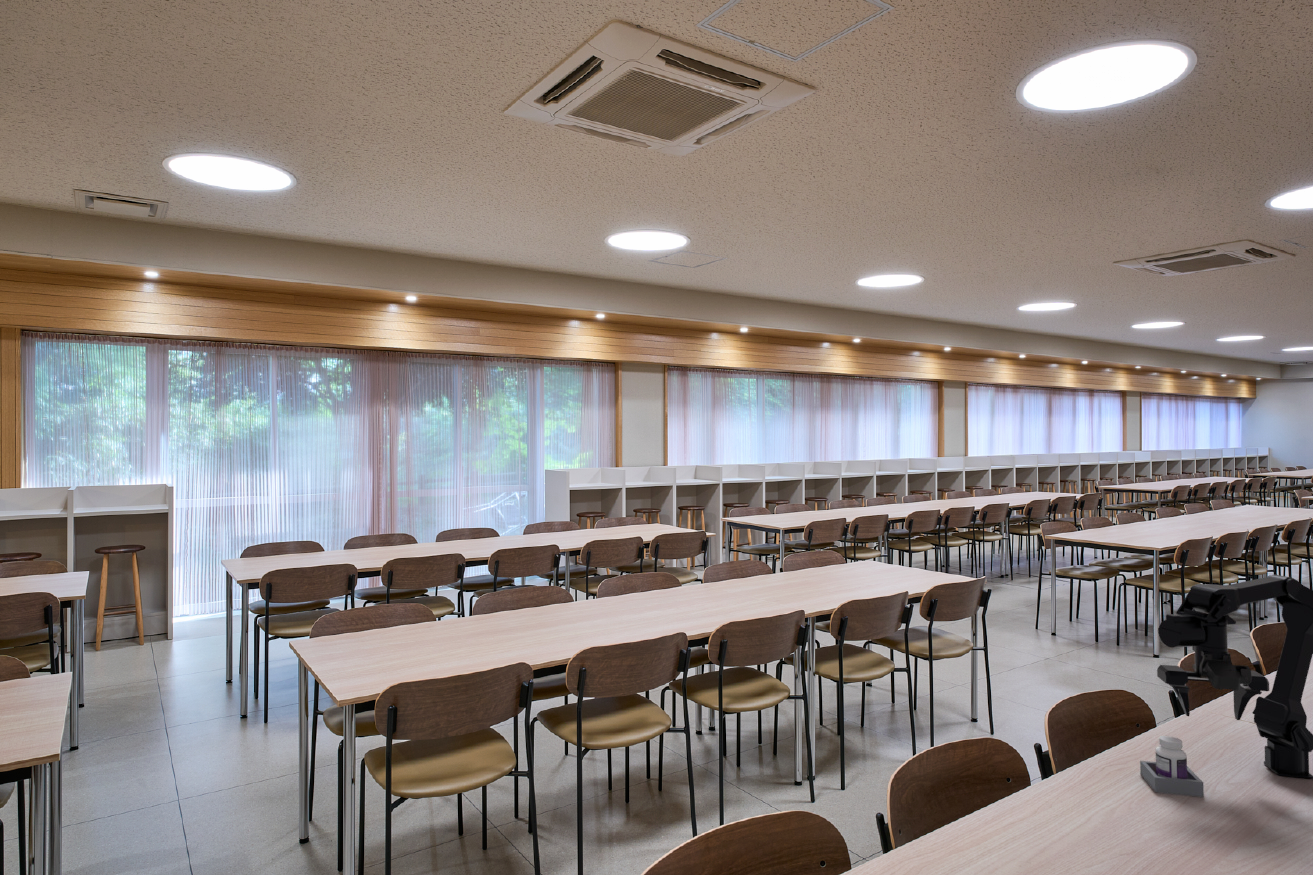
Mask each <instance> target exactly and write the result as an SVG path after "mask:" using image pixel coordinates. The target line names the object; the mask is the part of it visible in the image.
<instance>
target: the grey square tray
mask: <svg viewBox="0 0 1313 875" xmlns="http://www.w3.org/2000/svg"><path fill="white" fill-rule="evenodd" d="M1139 763H1140V765H1139V766H1140V771H1139V772H1140V776H1141V775H1142V776H1141V777H1142V778H1143V777H1144V778H1143V779H1144V781H1147V782H1146V783H1147V784H1148V785H1149V786H1150V788H1151V789H1152V790H1153V792H1154V793H1158V792H1159V793H1160V794H1169V795H1170V794H1171V795H1178V796H1189V797H1199V798H1205V796H1204V795H1205V794H1204V793H1205V792H1204V791H1205V790H1204V781H1203V780H1202V779H1201V778H1200V777H1199V776H1198V775H1197V774H1196V773H1195V772H1194V771H1192V769H1191V768H1189V766H1188V765H1187V779H1180V778H1170V777H1160V776H1157V775H1156V761H1150V760H1149V761H1148V760H1140V761H1139Z"/></svg>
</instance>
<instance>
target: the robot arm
mask: <svg viewBox="0 0 1313 875" xmlns="http://www.w3.org/2000/svg"><path fill="white" fill-rule="evenodd" d="M1272 599H1273V600H1274V601H1275V602H1276V603H1277V604H1278V605H1280V607H1282V608H1281V618H1282V620H1283V622H1284V625H1285V627H1286V633H1285V634H1286V635H1285V637H1284V642H1283V646H1282V649H1281V653H1280V657H1279V661H1278V666H1277V670H1276V673H1275V676H1274V681H1273V684H1272V689H1271V692H1270V693H1268V694H1267V695H1266V696H1265V697H1262V696H1258V697H1257V698H1256V700H1255V707H1254V709H1253V711H1252V713H1251V714H1253V722H1254V724H1255V726H1256V727H1257V731H1258V734H1259V736H1260V737H1261V738H1265V739H1266V743H1267V744H1266V745H1265V746H1264V761H1263V765H1265V767H1267V768H1269V769H1270V771H1272V772H1274V773H1275V774H1276V775H1277V776H1281V777H1293V778H1301V779H1303V778H1304V779H1313V774H1312V773H1310V758H1309V756H1310V754H1309V753H1312V751H1313V733H1312V732H1311V731H1310V730H1309V728H1307V721H1308V717H1307V714H1306V711H1305V709H1304V707H1303V703H1302V698H1303V693H1304V690H1305V686H1306V681H1307V677H1308V676H1309V675H1308V674H1309V671H1310V666H1311V662H1312V658H1313V589H1311V588H1309V587H1308V586H1305V585H1303V584H1302V583H1301V582H1300V581H1298V580H1297V579H1295V578H1294V577H1291V576H1286V575H1281V574H1270V575H1268V576H1265V577H1262V578H1261V577H1260V578H1256V579H1251V580H1247V581H1245V580H1244V581H1242V582H1237V583H1236V582H1235V583H1231V584H1208V583H1207V584H1206V583H1205V584H1204V583H1202V584H1201V583H1200V584H1199V583H1197V584H1194V585H1192V586H1191V587H1190V590H1189V591H1188V593H1187V595H1186V596H1185V597H1184V599H1183V601H1182V602H1181V604H1180V605H1179V607H1178V608H1177V610H1176V614H1174V613H1173V614H1172V613H1171V614H1170V613H1169V614H1168V613H1167V614H1166V615H1165V620H1163V621H1162V622H1161V623H1160V624H1159V626H1158V629H1157V632H1158V637H1159V639H1160V640H1161V642H1162V643H1163V644H1164V645H1165V646H1167V647H1168V648H1172V649H1173V648H1185V647H1186V648H1187V647H1189V648H1190V647H1191V649H1192V651H1193V652H1194V663H1192V669H1193V670H1194V671H1190V670H1184V669H1183V668H1182V667H1180V666H1179V665H1172V664H1171V665H1169V664H1160V665H1159V666H1158V667H1157V670H1156V674H1157V678H1159V679H1160V680H1161V681H1163V683H1165V684H1166V685H1169V686H1170V687H1171V688H1172V689H1173V691H1174V693H1175V695H1176V696H1177V699H1178V701H1179V703H1180V706H1181V708H1182V710H1183V712H1184V715H1185V716H1186V717H1190V713H1191V710H1190V700H1189V692H1190V687H1189V686H1188V685H1187V684H1188V683H1189V681H1195V682H1206V683H1207V682H1209V683H1210V685H1211V687H1213V688H1214V689H1217V690H1232V691H1233V712H1234V713H1233V714H1234V718H1235V720H1236V721H1241V719H1242V716H1243V714H1244V712H1245V710H1246V708H1247V705H1248V703H1249V702H1250V700H1251V699H1252V698H1253V697H1255V696H1256V695H1262V694H1263V692H1269V691H1270V681H1269V679H1268V678H1267V677H1266V676H1264V675H1262V674H1261V673H1259V672H1257V671H1256V670H1252V669H1251V668H1250V667H1249V665H1238V664H1237V665H1236V664H1235V665H1233V662H1232V657H1231V653H1230V652H1228V651H1229V650H1228V625H1236V624H1237V621H1236V620H1235V619H1233V618H1232V617H1231V616H1230V615H1231V614H1233V613H1235V612H1237V611H1238V610H1239V608H1240V607H1241V606H1243V605H1246V604H1251V603H1252V604H1253V603H1257V602H1262V601H1265V600H1272Z"/></svg>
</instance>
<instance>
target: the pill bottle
mask: <svg viewBox="0 0 1313 875" xmlns="http://www.w3.org/2000/svg"><path fill="white" fill-rule="evenodd" d="M1158 741H1159V742H1158V744H1159V746H1157V747H1156V748H1155V762H1156V775H1157V776H1160V777H1170V778H1180V779H1187V766H1188V761H1187V760H1188V759H1187V753H1186V752H1185V751H1184V750H1183V740H1182V739H1180V738H1178V737H1175V736H1170V735H1160V736H1159V740H1158Z"/></svg>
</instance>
